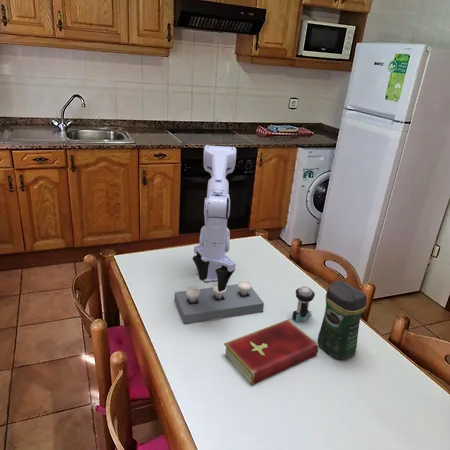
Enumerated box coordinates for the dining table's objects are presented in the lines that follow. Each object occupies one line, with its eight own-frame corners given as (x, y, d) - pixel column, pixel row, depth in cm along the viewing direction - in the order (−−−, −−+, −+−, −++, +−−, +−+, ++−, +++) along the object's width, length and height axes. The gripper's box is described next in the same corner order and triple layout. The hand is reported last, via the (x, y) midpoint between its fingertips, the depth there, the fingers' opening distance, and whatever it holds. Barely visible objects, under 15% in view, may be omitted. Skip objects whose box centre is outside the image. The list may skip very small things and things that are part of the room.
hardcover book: (316, 357, 104) (319, 343, 103) (251, 387, 93) (253, 373, 92) (286, 331, 113) (287, 318, 112) (223, 355, 102) (224, 342, 101)
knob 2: (235, 290, 124) (236, 281, 123) (247, 289, 125) (248, 280, 124) (240, 297, 121) (241, 288, 119) (252, 296, 122) (253, 286, 121)
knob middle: (210, 294, 121) (211, 284, 120) (223, 292, 123) (223, 283, 122) (214, 301, 118) (215, 291, 117) (227, 299, 119) (228, 290, 118)
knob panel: (174, 300, 123) (174, 292, 122) (247, 290, 131) (248, 282, 130) (184, 324, 112) (184, 315, 111) (263, 311, 120) (264, 303, 119)
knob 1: (184, 297, 119) (184, 288, 118) (197, 295, 120) (198, 286, 119) (187, 305, 115) (188, 295, 114) (201, 303, 117) (201, 293, 115)
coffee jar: (360, 354, 106) (375, 293, 99) (339, 364, 101) (353, 301, 94) (332, 333, 113) (344, 275, 106) (311, 342, 109) (322, 282, 102)
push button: (305, 311, 122) (310, 282, 119) (317, 320, 118) (322, 291, 114) (287, 316, 119) (292, 287, 115) (299, 326, 115) (304, 296, 111)
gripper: (186, 234, 110) (184, 278, 115) (223, 252, 101) (219, 300, 105) (205, 228, 115) (203, 271, 120) (242, 245, 105) (238, 291, 110)
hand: (212, 284), depth 113 cm, fingers open, 7 cm apart
